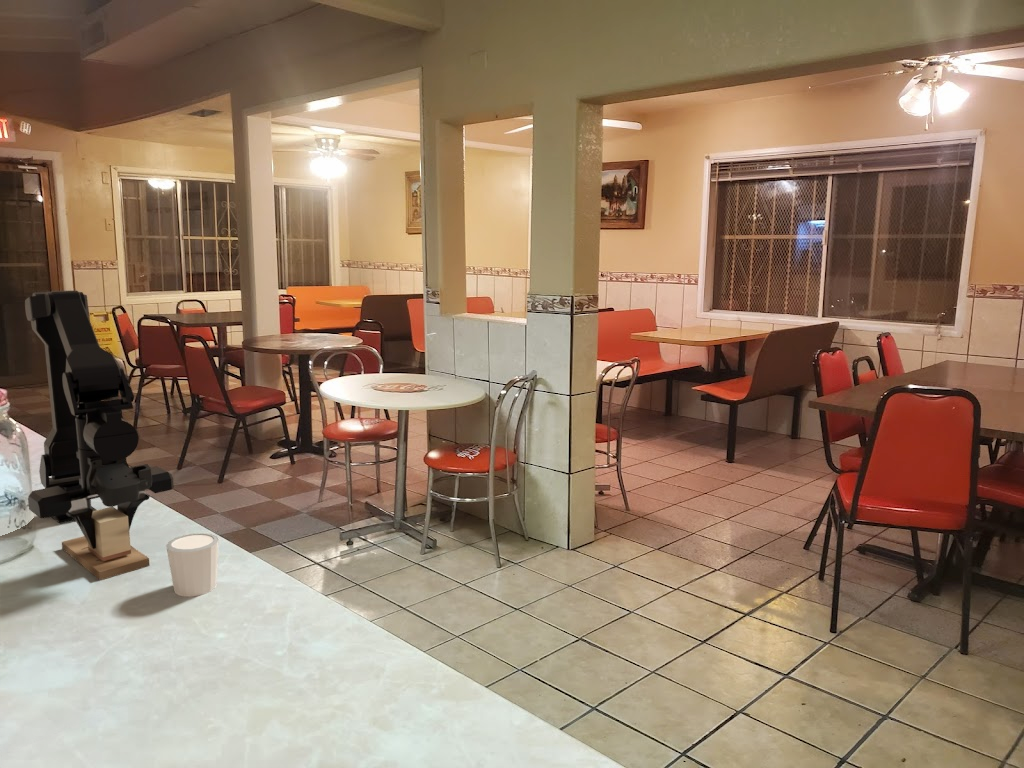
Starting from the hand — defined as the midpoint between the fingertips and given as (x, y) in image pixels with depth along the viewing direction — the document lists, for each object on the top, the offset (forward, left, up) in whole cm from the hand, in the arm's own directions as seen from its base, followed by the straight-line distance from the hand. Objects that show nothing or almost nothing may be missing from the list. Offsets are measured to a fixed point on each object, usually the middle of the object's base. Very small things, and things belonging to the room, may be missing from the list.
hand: (108, 544), depth 115 cm
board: (-2, 0, -3) cm, 4 cm away
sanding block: (0, 0, -1) cm, 1 cm away
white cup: (+18, +5, -3) cm, 19 cm away
